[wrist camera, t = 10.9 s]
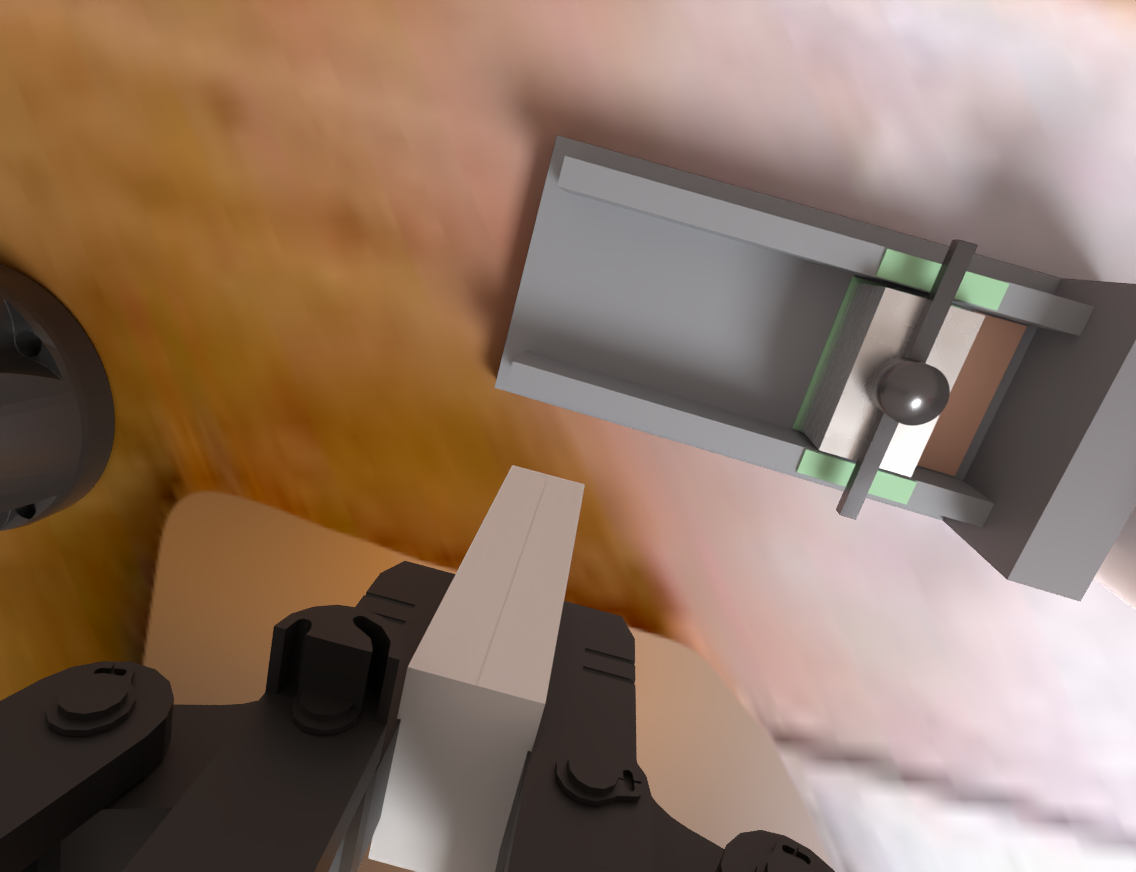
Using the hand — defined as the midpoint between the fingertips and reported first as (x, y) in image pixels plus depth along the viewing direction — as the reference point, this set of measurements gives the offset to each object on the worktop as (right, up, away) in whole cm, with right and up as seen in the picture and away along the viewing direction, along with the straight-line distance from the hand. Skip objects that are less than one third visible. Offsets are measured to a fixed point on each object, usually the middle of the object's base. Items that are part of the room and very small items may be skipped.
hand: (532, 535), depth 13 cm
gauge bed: (+11, +7, +19) cm, 23 cm away
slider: (+15, +5, +17) cm, 23 cm away
